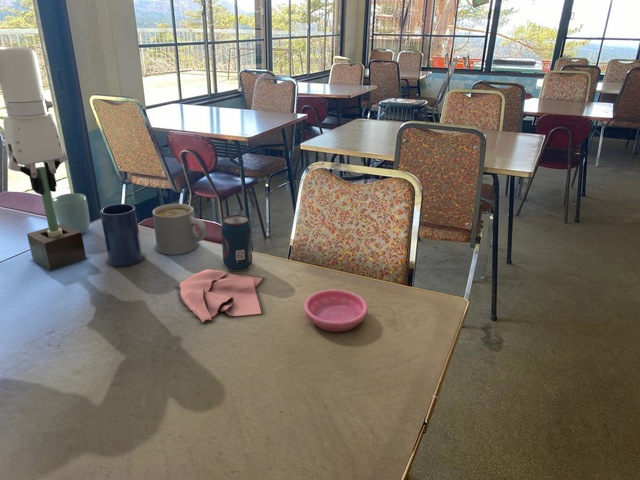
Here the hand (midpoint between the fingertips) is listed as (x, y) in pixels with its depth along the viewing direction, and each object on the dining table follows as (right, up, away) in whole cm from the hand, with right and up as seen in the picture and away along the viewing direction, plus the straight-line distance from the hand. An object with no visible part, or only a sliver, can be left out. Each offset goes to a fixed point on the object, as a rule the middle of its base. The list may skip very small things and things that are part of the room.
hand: (45, 191), depth 109 cm
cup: (-4, -9, +22) cm, 24 cm away
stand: (0, -16, +7) cm, 17 cm away
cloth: (+42, -23, -7) cm, 48 cm away
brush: (0, -13, +6) cm, 15 cm away
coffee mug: (+27, -13, +15) cm, 33 cm away
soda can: (+43, -17, +6) cm, 47 cm away
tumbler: (+15, -16, +8) cm, 23 cm away
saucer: (+66, -27, -14) cm, 72 cm away
